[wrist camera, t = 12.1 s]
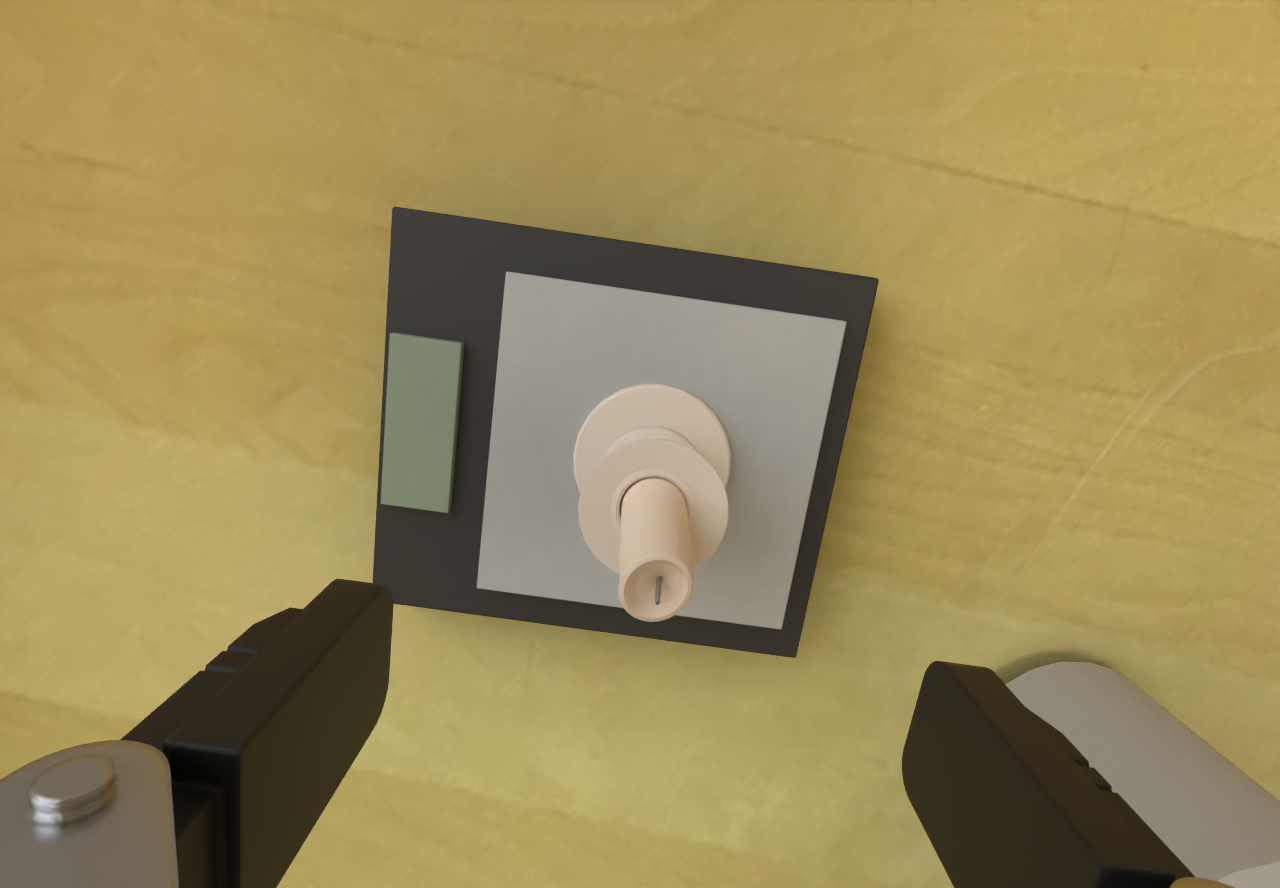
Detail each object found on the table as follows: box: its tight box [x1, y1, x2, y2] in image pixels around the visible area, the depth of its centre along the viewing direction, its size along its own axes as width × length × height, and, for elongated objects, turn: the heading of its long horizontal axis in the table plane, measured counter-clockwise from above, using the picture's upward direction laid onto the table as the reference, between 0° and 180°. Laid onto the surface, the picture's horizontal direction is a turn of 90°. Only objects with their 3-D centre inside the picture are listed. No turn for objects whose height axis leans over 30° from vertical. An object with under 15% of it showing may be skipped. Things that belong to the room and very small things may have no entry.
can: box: [1005, 662, 1280, 888], centre depth 22 cm, size 8×8×12 cm
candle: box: [573, 383, 731, 622], centre depth 17 cm, size 5×5×10 cm
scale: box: [373, 207, 879, 658], centre depth 24 cm, size 16×14×3 cm
